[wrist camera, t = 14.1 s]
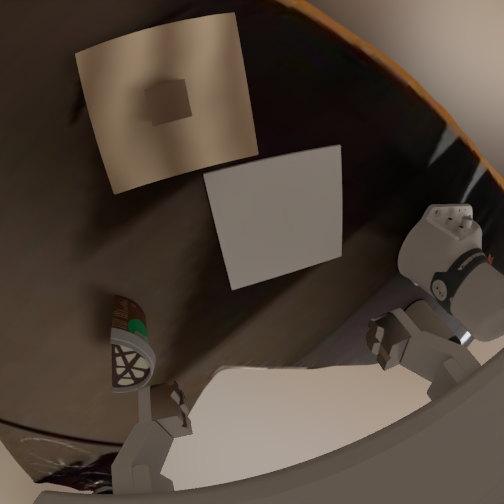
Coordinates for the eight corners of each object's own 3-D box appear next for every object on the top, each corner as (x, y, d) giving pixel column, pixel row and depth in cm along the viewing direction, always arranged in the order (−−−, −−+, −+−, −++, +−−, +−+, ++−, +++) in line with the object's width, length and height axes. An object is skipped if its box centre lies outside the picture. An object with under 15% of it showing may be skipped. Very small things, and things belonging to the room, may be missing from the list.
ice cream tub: (149, 347, 47) (152, 397, 39) (113, 344, 45) (112, 394, 36) (157, 292, 41) (160, 344, 33) (116, 287, 39) (110, 339, 31)
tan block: (219, 26, 25) (246, 1, 16) (240, 139, 33) (272, 166, 24) (93, 59, 23) (60, 49, 14) (123, 172, 31) (107, 212, 22)
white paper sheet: (338, 144, 37) (340, 145, 36) (340, 254, 47) (341, 256, 47) (202, 173, 34) (203, 174, 34) (231, 288, 45) (232, 290, 44)
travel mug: (428, 295, 63) (474, 345, 49) (418, 319, 67) (458, 368, 53) (406, 303, 61) (452, 358, 47) (395, 327, 66) (436, 381, 51)
